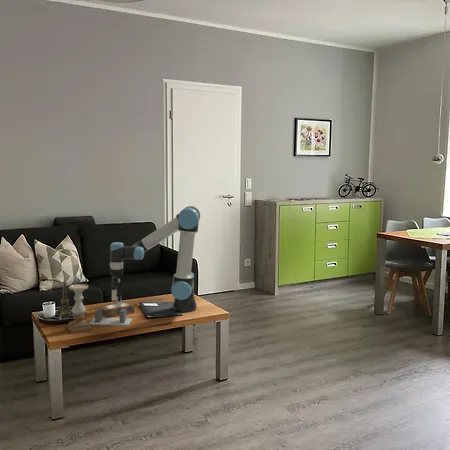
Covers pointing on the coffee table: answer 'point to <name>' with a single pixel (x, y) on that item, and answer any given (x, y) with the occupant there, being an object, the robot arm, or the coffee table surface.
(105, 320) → the board
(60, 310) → the eiffel tower
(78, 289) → the candle holder
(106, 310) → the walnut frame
